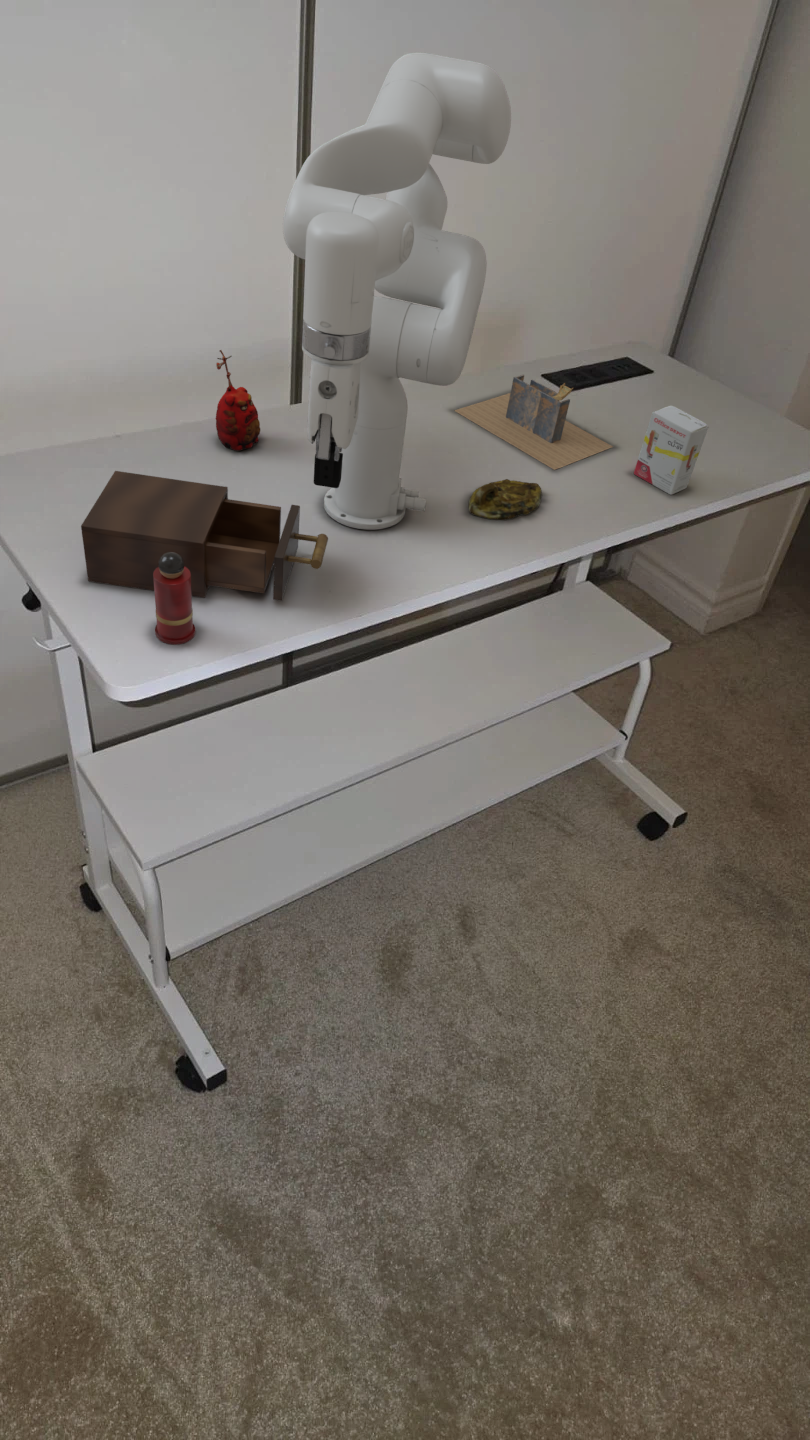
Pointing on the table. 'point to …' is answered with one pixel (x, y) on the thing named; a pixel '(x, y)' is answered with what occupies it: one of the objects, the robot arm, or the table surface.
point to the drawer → (256, 547)
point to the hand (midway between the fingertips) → (327, 483)
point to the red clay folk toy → (236, 416)
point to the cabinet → (149, 529)
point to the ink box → (670, 449)
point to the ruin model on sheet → (535, 423)
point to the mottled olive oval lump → (505, 499)
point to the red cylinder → (173, 600)
